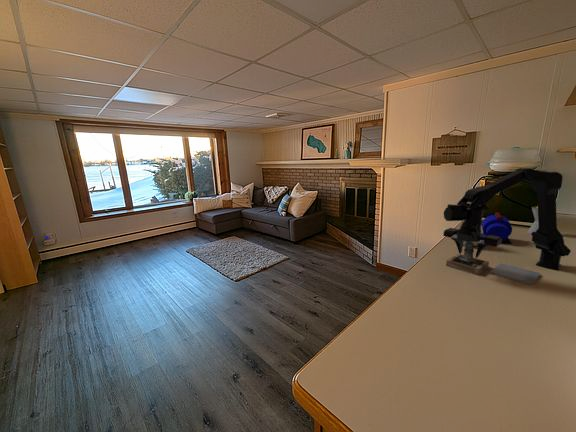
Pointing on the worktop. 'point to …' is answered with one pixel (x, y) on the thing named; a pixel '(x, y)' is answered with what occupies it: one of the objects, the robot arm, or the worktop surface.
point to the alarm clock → (497, 227)
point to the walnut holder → (454, 264)
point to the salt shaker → (468, 255)
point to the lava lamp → (536, 223)
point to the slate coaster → (515, 273)
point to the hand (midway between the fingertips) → (468, 255)
